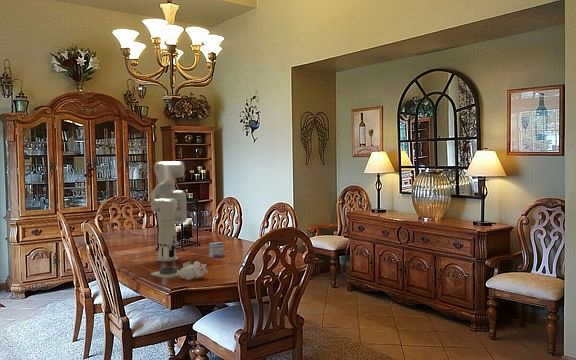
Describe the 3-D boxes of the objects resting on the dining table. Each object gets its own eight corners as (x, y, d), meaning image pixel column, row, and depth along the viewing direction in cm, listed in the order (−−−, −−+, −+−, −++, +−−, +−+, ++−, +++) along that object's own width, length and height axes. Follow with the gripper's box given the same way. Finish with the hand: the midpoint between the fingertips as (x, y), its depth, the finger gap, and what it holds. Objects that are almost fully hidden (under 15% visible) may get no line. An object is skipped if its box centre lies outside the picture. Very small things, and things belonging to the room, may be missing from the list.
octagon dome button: (150, 274, 273) (150, 269, 273) (169, 270, 284) (169, 265, 284) (167, 278, 266) (167, 273, 266) (185, 273, 276) (185, 268, 276)
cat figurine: (177, 262, 261) (205, 256, 267) (175, 267, 268) (203, 261, 274) (181, 280, 257) (210, 273, 263) (179, 284, 264) (207, 278, 270)
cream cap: (161, 259, 273) (161, 246, 273) (168, 257, 277) (168, 244, 277) (167, 260, 270) (167, 247, 270) (174, 258, 275) (174, 245, 274)
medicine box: (212, 257, 317) (212, 244, 317) (208, 256, 321) (208, 242, 320) (223, 256, 322) (223, 242, 321) (220, 255, 325) (219, 241, 325)
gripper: (151, 222, 275) (152, 256, 276) (173, 224, 265) (173, 259, 266) (162, 221, 281) (162, 253, 282) (183, 223, 271) (184, 257, 272)
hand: (168, 256), depth 274 cm, fingers closed on cream cap, 4 cm apart
